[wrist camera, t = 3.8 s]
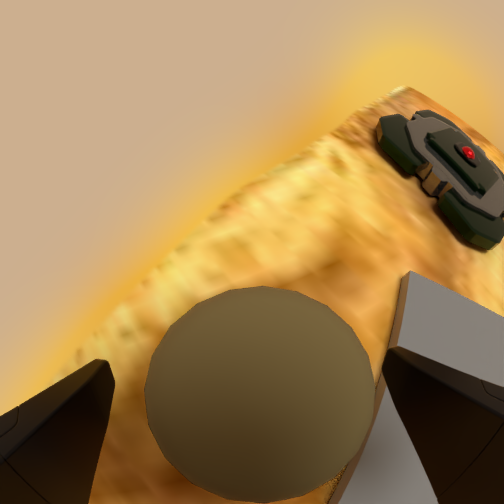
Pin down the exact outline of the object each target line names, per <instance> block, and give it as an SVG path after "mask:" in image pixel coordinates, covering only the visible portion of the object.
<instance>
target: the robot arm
mask: <svg viewBox="0 0 504 504" xmlns="http://www.w3.org/2000/svg"><path fill="white" fill-rule="evenodd" d="M382 374H383V377H384V379H385V382H386V385H387V387H388V390H389V393H390V395H391V398H392V401H393V404H394V406H395V408H396V411H397V413H398V415H399V417H400V419H401V421H402V423H403V425H404V427H405V429H406V431H407V433H408V435H409V437H410V440H411V442H412V444H413V446H414V448H415V450H416V452H417V455H418V457H419V459H420V461H421V464H422V466H423V468H424V470H425V473H426V475H427V477H428V479H429V482H430V484H431V486H432V489H433V491H434V494H435V496H436V498H437V501H438V504H504V387H502V386H499V385H496V384H493V383H491V382H488V381H485V380H483V379H479V378H477V377H475V376H472V375H470V374H467V373H465V372H462V371H459V370H457V369H454V368H452V367H449V366H447V365H444V364H442V363H439V362H437V361H435V360H432V359H430V358H427V357H425V356H422V355H420V354H417V353H415V352H413V351H410V350H408V349H405V348H403V347H401V346H395V347H390V348H388V350H387V352H386V355H385V358H384V362H383V365H382ZM114 389H115V380H114V377H113V374H112V371H111V368H110V365H109V362H108V361H107V360H101V359H95V360H93V361H92V362H90V363H88V364H87V365H85V366H83V367H82V368H80V369H78V370H77V371H75V372H74V373H72V374H70V375H69V376H67V377H65V378H64V379H62V380H60V381H59V382H57V383H55V384H54V385H52V386H50V387H49V388H47V389H45V390H44V391H42V392H40V393H39V394H37V395H35V396H34V397H32V398H30V399H29V400H27V401H25V402H24V403H22V404H20V405H19V406H17V407H15V408H14V409H12V410H10V411H9V412H7V413H5V414H3V415H2V416H0V504H88V503H89V498H90V493H91V488H92V484H93V480H94V475H95V471H96V467H97V463H98V459H99V455H100V451H101V448H102V444H103V440H104V437H105V433H106V430H107V426H108V421H109V416H110V410H111V404H112V399H113V394H114Z"/></svg>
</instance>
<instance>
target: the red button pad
mask: <svg viewBox="0 0 504 504" xmlns="http://www.w3.org/2000/svg"><path fill="white" fill-rule="evenodd" d="M376 132H377V138H378V144H379V145H380V147H381V148H382V149H383V150H384V151H385V152H386V153H387V154H388V155H389V156H390V157H391V158H393V159H394V160H395V161H396V162H397V163H398V164H399V165H400V166H401V167H402V168H403V169H404V170H405V171H406V172H407V173H408V174H411V175H414V174H416V173H417V174H418V175H419V176H420V177H421V178H422V179H423V183H422V187H423V188H424V189H425V190H426V191H427V192H428V193H429V194H430V195H432V196H434V195H436V196H439V197H440V199H439V201H438V202H437V203H438V207H439V208H440V209H441V210H442V211H443V213H444V214H445V215H446V216H447V217H448V219H449V220H450V221H451V222H452V223H453V225H454V226H455V227H456V228H457V230H458V231H459V232H460V234H461V235H462V236H463V237H464V238H465V239H466V240H467V241H468V242H471V243H473V244H475V245H478V246H480V247H482V248H485V249H487V250H492V249H493V248H495V247H496V246H497V245H498V244H499V243H500V242H501V240H502V238H503V236H504V174H503V173H502V172H501V170H500V169H499V168H498V167H497V166H496V165H495V164H494V162H493V161H491V160H489V159H488V158H487V157H486V155H485V152H484V151H483V150H482V149H481V148H480V147H479V146H477V145H475V144H474V143H472V140H471V139H470V138H469V137H468V136H467V135H466V134H465V133H464V132H463V131H462V130H461V129H460V128H458V127H457V126H456V125H455V124H454V123H453V122H452V121H450V120H449V119H447V118H445V117H443V116H441V115H439V114H437V113H435V112H433V111H431V110H422V111H416V112H415V114H413V115H412V118H411V120H410V121H409V120H407V119H406V118H405V117H404V116H403V115H400V114H395V115H389V116H383V117H381V118H380V119H379V122H378V124H377V126H376Z"/></svg>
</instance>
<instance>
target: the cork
mask: <svg viewBox="0 0 504 504" xmlns="http://www.w3.org/2000/svg"><path fill="white" fill-rule="evenodd" d="M144 392H145V402H146V410H147V418H148V425H149V427H150V429H151V431H152V433H153V435H154V437H155V439H156V441H157V443H158V445H159V447H160V449H161V451H162V453H163V455H164V457H165V458H166V459H167V460H168V461H169V462H170V463H171V464H172V465H173V466H174V467H175V468H176V469H177V470H178V471H179V472H180V473H181V474H182V475H183V476H185V477H186V478H187V479H188V480H189V481H190V482H191V483H192V484H194V485H197V486H199V487H201V488H203V489H205V490H207V491H209V492H211V493H214V494H216V495H218V496H220V497H223V498H225V499H229V500H236V501H245V502H254V503H270V502H275V501H281V500H286V499H290V498H295V497H299V496H303V495H304V494H306V493H308V492H310V491H312V490H314V489H316V488H317V487H319V486H321V485H323V484H324V483H326V482H328V481H329V480H331V479H333V478H334V477H335V476H336V475H337V474H338V473H339V472H340V471H341V470H342V469H343V468H344V467H345V466H346V465H347V464H348V462H349V461H350V460H351V459H352V458H353V457H354V456H355V455H356V453H357V452H358V451H359V449H360V447H361V445H362V442H363V440H364V438H365V436H366V434H367V431H368V429H369V427H370V424H371V422H372V418H373V409H374V399H375V383H374V378H373V374H372V369H371V365H370V361H369V357H368V354H367V353H366V351H365V349H364V348H363V346H362V344H361V342H360V341H359V339H358V337H357V336H356V334H355V332H354V331H353V329H352V328H351V327H350V326H349V325H348V324H347V323H346V322H345V321H344V320H343V319H341V318H340V317H339V316H338V315H337V314H336V313H335V312H334V311H332V310H331V309H330V308H329V307H328V306H327V305H325V304H322V303H320V302H318V301H316V300H314V299H312V298H310V297H308V296H306V295H303V294H301V293H299V292H297V291H291V290H285V289H279V288H272V287H266V286H259V287H251V288H243V289H234V290H228V291H226V292H223V293H221V294H219V295H216V296H214V297H212V298H209V299H207V300H205V301H202V302H200V303H198V304H196V305H195V306H194V307H193V308H191V309H190V310H189V311H188V312H187V313H185V314H184V315H183V316H182V317H181V318H180V319H178V320H177V321H176V322H175V323H174V324H172V325H171V326H170V328H169V329H168V331H167V332H166V334H165V336H164V337H163V339H162V340H161V342H160V344H159V345H158V347H157V349H156V350H155V352H154V353H153V355H152V358H151V362H150V366H149V371H148V375H147V380H146V384H145V389H144Z"/></svg>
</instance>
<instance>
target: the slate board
mask: <svg viewBox="0 0 504 504" xmlns="http://www.w3.org/2000/svg"><path fill="white" fill-rule="evenodd" d="M395 346H401V347H403V348H405V349H408V350H410V351H413V352H415V353H417V354H420V355H422V356H425V357H427V358H430V359H432V360H435V361H437V362H439V363H442V364H444V365H447V366H449V367H452V368H454V369H457V370H459V371H462V372H465V373H467V374H470V375H472V376H475V377H477V378H479V379H483V380H485V381H488V382H491V383H493V384H496V385H499V386H502V387H504V317H502V316H500V315H498V314H496V313H495V312H493V311H491V310H489V309H487V308H485V307H483V306H481V305H479V304H478V303H476V302H474V301H472V300H470V299H468V298H466V297H464V296H462V295H460V294H458V293H456V292H454V291H452V290H450V289H448V288H446V287H444V286H442V285H440V284H438V283H436V282H434V281H432V280H429V279H427V278H425V277H423V276H421V275H419V274H417V273H415V272H413V271H409V272H408V273H407V274H406V275H405V276H403V277H402V281H401V287H400V293H399V299H398V304H397V309H396V315H395V319H394V324H393V329H392V333H391V338H390V342H389V346H388V348H390V347H395ZM328 504H438V501H437V498H436V496H435V494H434V491H433V489H432V486H431V484H430V482H429V479H428V477H427V475H426V473H425V470H424V468H423V466H422V464H421V461H420V459H419V457H418V455H417V452H416V450H415V448H414V446H413V444H412V442H411V440H410V437H409V435H408V433H407V431H406V429H405V427H404V425H403V423H402V421H401V419H400V417H399V415H398V413H397V411H396V408H395V406H394V404H393V401H392V398H391V395H390V393H389V390H388V387H387V385H386V382H385V379H384V377H383V374H382V372H381V376H380V379H379V382H378V386H377V389H376V392H375V399H374V409H373V418H372V422H371V424H370V427H369V429H368V431H367V434H366V436H365V438H364V440H363V442H362V445H361V447H360V449H359V451H358V452H357V453H356V455H355V456H354V457H353V458H352V459H351V460H350V461H349V462H348V465H347V467H346V469H345V471H344V473H343V475H342V477H341V479H340V481H339V483H338V485H337V487H336V489H335V491H334V493H333V495H332V497H331V499H330V501H329V503H328Z"/></svg>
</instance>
